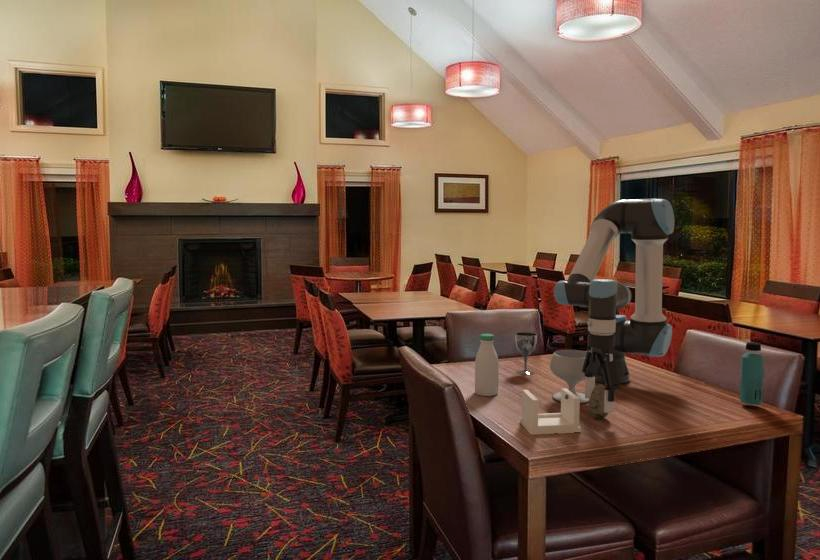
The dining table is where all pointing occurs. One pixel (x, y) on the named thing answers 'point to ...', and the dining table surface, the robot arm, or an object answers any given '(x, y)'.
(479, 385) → the milk bottle
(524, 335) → the wine glass
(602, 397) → the decorative egg
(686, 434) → the dining table surface
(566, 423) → the holder
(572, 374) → the chalice
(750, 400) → the beverage bottle
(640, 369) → the dining table surface
